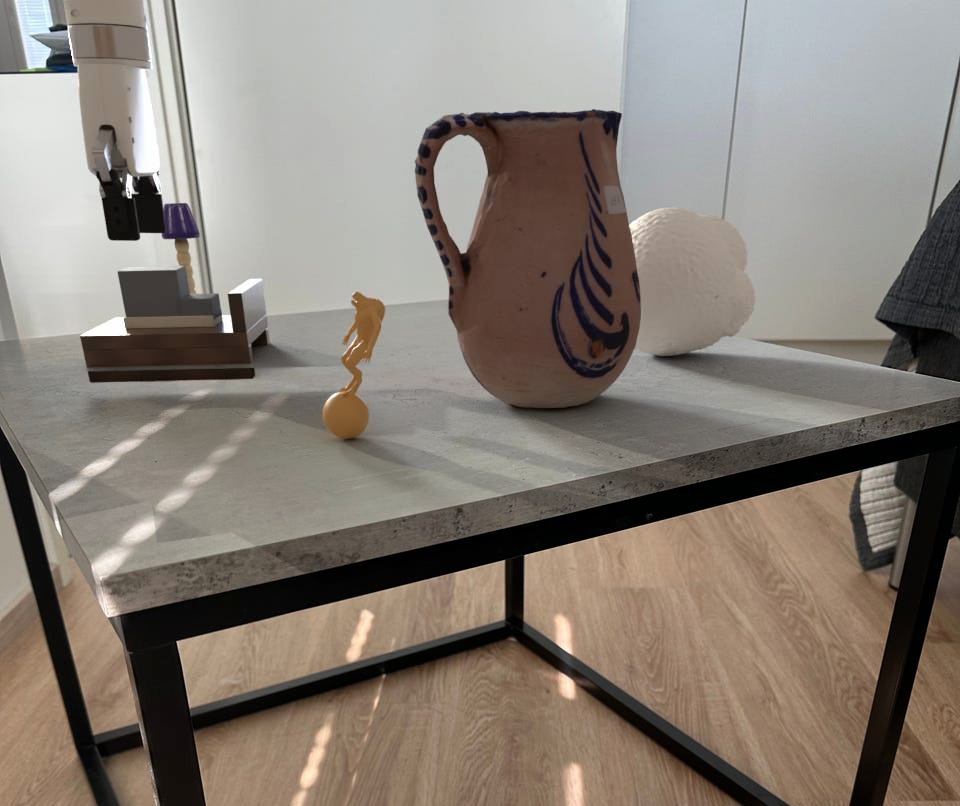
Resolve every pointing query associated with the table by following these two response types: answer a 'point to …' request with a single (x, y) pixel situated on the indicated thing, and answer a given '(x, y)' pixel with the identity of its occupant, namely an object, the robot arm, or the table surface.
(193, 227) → the toy lamp
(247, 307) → the wooden doll bed
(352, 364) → the figurine
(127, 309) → the trainer
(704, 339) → the white lobed lump
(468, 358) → the ceramic pitcher
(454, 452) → the table surface
